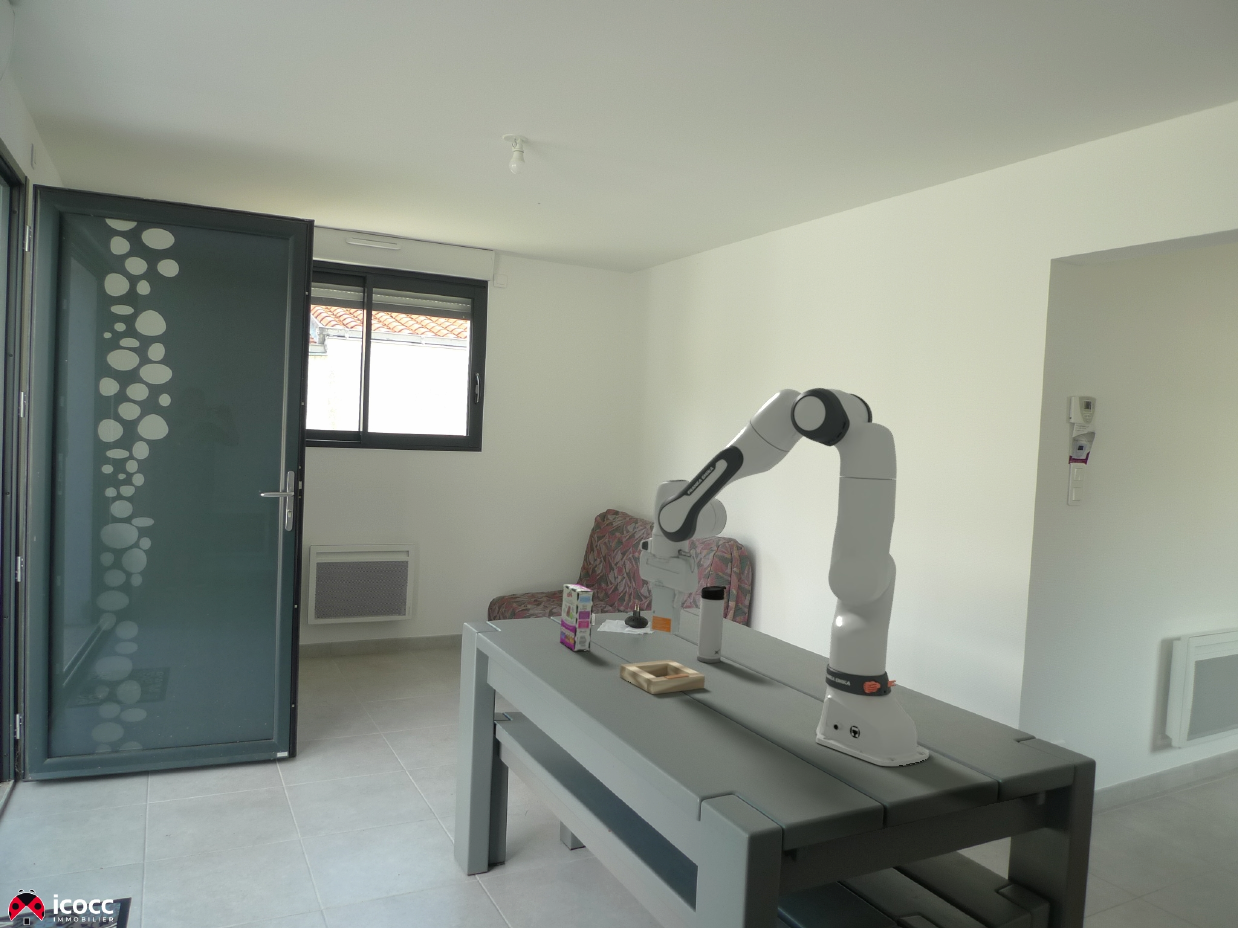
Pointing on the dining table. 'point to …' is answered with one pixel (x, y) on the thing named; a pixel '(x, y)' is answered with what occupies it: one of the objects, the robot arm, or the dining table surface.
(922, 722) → the dining table surface
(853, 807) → the dining table surface
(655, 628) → the skincare box
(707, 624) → the travel mug
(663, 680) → the frame
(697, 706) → the dining table surface
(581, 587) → the candy bar box
